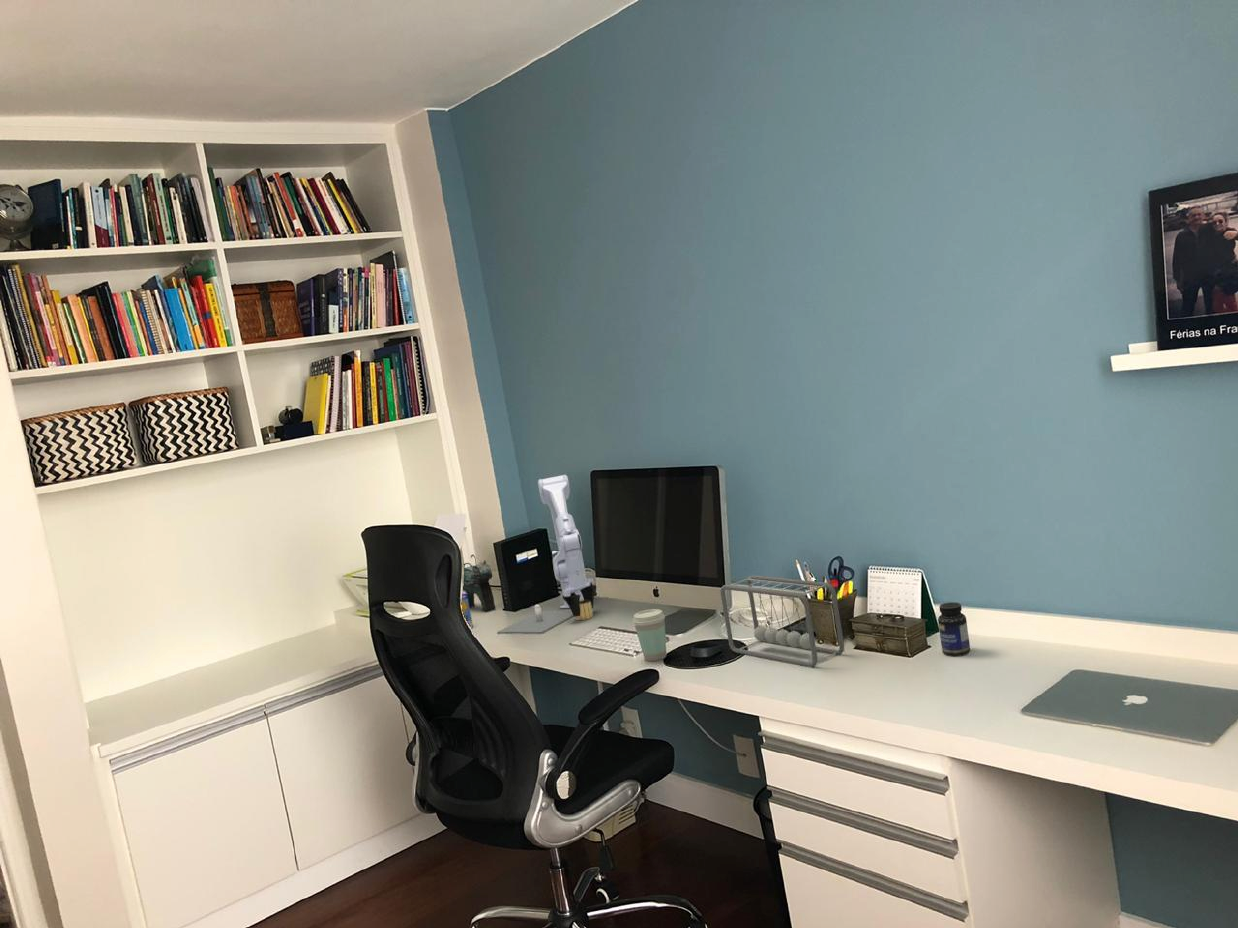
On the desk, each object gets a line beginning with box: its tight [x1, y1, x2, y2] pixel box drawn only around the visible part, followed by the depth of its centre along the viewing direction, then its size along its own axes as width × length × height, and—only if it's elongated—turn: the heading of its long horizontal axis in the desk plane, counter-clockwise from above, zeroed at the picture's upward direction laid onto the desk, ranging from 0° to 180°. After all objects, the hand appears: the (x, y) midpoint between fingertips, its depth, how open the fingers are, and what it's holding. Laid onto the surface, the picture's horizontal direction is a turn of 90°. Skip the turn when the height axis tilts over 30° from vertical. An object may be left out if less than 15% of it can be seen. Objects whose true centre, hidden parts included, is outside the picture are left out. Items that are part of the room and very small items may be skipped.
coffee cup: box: [632, 608, 667, 662], centre depth 260 cm, size 9×8×12 cm
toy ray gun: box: [463, 554, 496, 613], centre depth 354 cm, size 20×6×20 cm, turn 37°
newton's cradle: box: [719, 575, 845, 668], centre depth 244 cm, size 30×10×18 cm, turn 36°
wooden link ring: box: [574, 600, 594, 621], centre depth 316 cm, size 6×6×5 cm
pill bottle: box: [937, 601, 971, 657], centre depth 224 cm, size 6×6×11 cm
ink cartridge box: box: [461, 591, 474, 629], centre depth 329 cm, size 10×6×14 cm, turn 107°
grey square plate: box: [496, 604, 575, 635], centre depth 319 cm, size 22×18×6 cm
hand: (583, 612), depth 316 cm, fingers open, 7 cm apart
